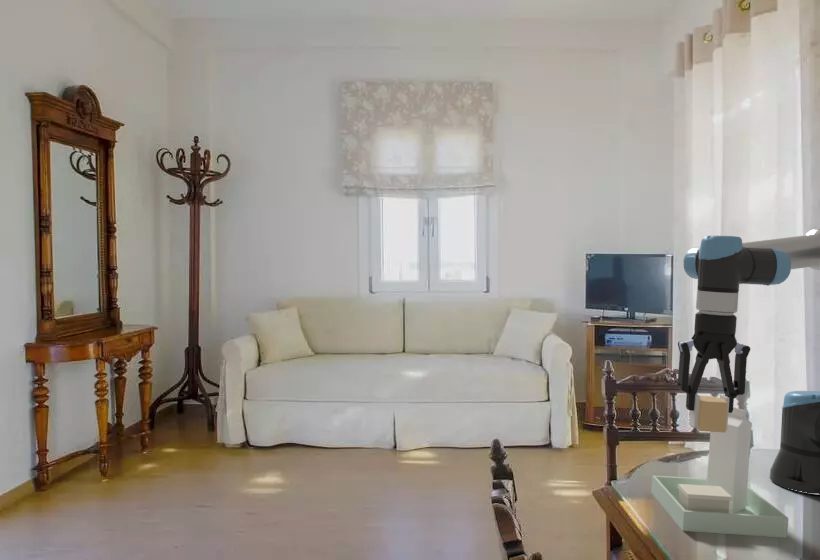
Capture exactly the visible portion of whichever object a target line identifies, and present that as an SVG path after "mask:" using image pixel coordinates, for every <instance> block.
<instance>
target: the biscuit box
mask: <svg viewBox="0 0 820 560" xmlns="http://www.w3.org/2000/svg"><path fill="white" fill-rule="evenodd" d="M699 396H700V405H699V419H698V428H695V429H697V430H698V431H699V432H724V433H726V421H727V407H728V403H727V402H726V401H724V400H722V399H720V397H718V396H705V395H699Z"/></svg>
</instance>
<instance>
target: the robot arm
mask: <svg viewBox="0 0 820 560" xmlns="http://www.w3.org/2000/svg"><path fill="white" fill-rule="evenodd" d="M805 268H811V269H813V270H817V271H820V228H819V229H812V230H809V231H808V232H806V233H805V234H804V235H798V236H790V237H789V236H787V237H781V238H772V239H765V240H755V241H748V242H743V240H742V238H741V237H740V236H735V235H734V236H733V235H705V236H703V238H702V239H701V241H700V246H695V247H692V248H690V249H689V250H688V251H687V252H686V253H685V255H684V258H683V270H684V273H685V274H686V275H687V276H688V277H690V278H691V279H695V280H697V289H696V290H697V291H696V303H695V304H696V305H695V309H696V310H697V311H698V312H696V313H695V314H694V315H695V316H694V330H693V331H694V333H693V335H692V337H691V339H688V340H685V341H682V340H680V341H678V342H677V346H678V351H679V361H678V374H677V383H676V384H677V386H676V387H677V388H678V390H680V391H682V392H684V393H686V398H685V408H686V410H688V411H689V420H688V421H689V422H688V424H689V425H690V427H692V428H693V429H696V428H698V419H699V405H700V396H701V395H699V394H698V393H697V392H698V389H699V387H700V385H701V381H702V379H703V378H702V377H703V375H704V372H705V370H706V367H707V365H708V363H709V361H710V360H715V359H716V362H717V363H718V368H719V374H720V377H721V378H720V380H721V383H722V389H723V394H719V398H720V399H722V400H724V401H726V402H727V403H728V407H727V421H726V430H727V425H728V413H732V411H733V407H734V402H735V401H734V399H736V398H737V397H738V396H740V395H741V396H743V395H744V394H745V393H746V378H747V377H746V376H747V360H748V356H749V354H750V351H751V347H750V346H748V345H746V344H744V343H743V344H741V343H738V342H737V338H736V331H737V319H738V317H737V316H736V315H734V314H735V313H737V312H738V308H739V307H738V305H739V304H738V303H739V291H740V285H763V286H771V285H772V286H774V285H775V286H776V285H780V284H782V283H784V282H785V281H786V280H787V279H788V278H789V276H790V274H791V272H792V271H791V270H797V269H805ZM693 347H694V348H695V350H696V352H697V353H696V356H695V363H694V365H693V368H692V370H691V374H690V365H691V363H690V362H691V351H692V350H693ZM733 350H734V352H735V355H734V369H733V375H732V369H731V365H730V364H731V359H730V354H731V353H732V351H733ZM689 374H690V375H689ZM783 397H784V398H783V405H782V407H781V409H782V410H781V412H782V413H781V427H780V428H781V429H780V430H781V431H780V442H779V443H780V445H779V451H778V453H777V455H776V457H775V459H774V461H773V463H772V466H771V467H770V473H769V479H771V480H772V481H773V484H775V483H776V484H775V485H777V484H778V485H777V486H779V485H780V486H779V487H781V486H782V488H783V487H784V489H786V488H789V489H793V490H797V491H802V492H807V493H819V494H820V390H819V391H818V390H817V391H815V390H792V391H789V392H787V393H786V394H784V396H783ZM771 480H770V481H771ZM772 481H771V482H772ZM789 489H788V490H789Z"/></svg>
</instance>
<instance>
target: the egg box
mask: <svg viewBox="0 0 820 560" xmlns="http://www.w3.org/2000/svg"><path fill="white" fill-rule="evenodd" d="M678 488H679V503H680V504H681V506H682V507H683V508H684V509H685V510H688V511H703V512H719V513H729V502H730V501H732V496H731V495H729V494H728V493H727V492H726V491H725V490H724V489H723V488H722V487H720V486H706V485H689V484H678Z"/></svg>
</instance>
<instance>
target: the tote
mask: <svg viewBox="0 0 820 560" xmlns="http://www.w3.org/2000/svg"><path fill="white" fill-rule="evenodd" d="M678 484H689V485H706V486H707V478H699V477H687V476H686V477H683V476H670V475H669V476H667V475H654V474H653V475H651V487H650V489H651V490H650V493H651V495H652V496H653V497H654V499H656V500H657V502H658V503H659V504H660V505H661V506H662V508H663V510H664V511H665V512H667V514H668V515H669V517H670V518H671V519H672V520H673V521H674V522H675V524H676V525H677V526H678V527H679V529H680V530H681V531H682V532H689V533H690V532H692V533H706V534H707V533H708V534H723V535H736V536H737V535H742V536H755V537H765V538H766V537H769V538H770V537H771V538H783V539H785V538H786V539H787V538H788V533H789V532H788V528H789V517H788V516H786V515H785V513H783V512H781V511H780V510H779V509H778V508H777V507H776V506H774V505H773V504H772V503H770V502H769V501H768V500H767V499H766V498H764V497H763V496H761V494H759V493H758V492H757V491H755V490H754V489H753V488H751V487H750V486H749V484H747V499H746V509H743V510H741V511H739V512H736V513H719V512H703V511H688V510H685V509H684V508H683V507H682V506H681V504H680V503H679V488H678Z"/></svg>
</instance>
